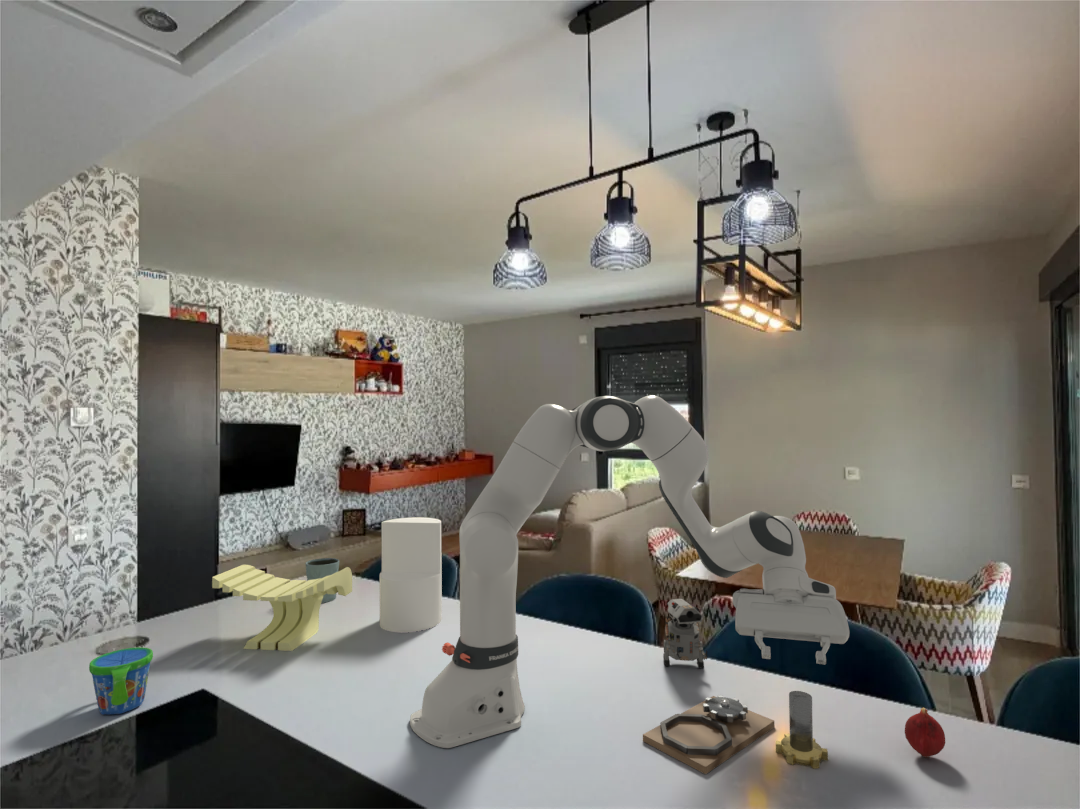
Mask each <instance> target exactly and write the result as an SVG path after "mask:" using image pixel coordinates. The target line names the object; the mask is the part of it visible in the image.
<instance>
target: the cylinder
mask: <svg viewBox="0 0 1080 809" xmlns="http://www.w3.org/2000/svg"><path fill="white" fill-rule="evenodd" d="M442 560H443V559H442V520H441V519H438V518H434V517H425V516H424V517H423V516H421V517H417V516H416V517H415V516H414V517H399V518H393V519H387V520H384V521H381V571H380V573H379V627H380V628H381V629H382V630H384V631H387V632H392V633H400V634H401V633H402V634H404V633H408V632H409V633H416V631H418V632H422V631H421V630H423V631H427V630H430V629H433V628H435V627H437V626H438V625H439V623H440V622H441V623H442V621H441V620H443V615H442V614H443V610H442V609H443V608H442V607H443V605H442V604H443V600H442V598H443V594H442V593H443V592H442V589H443V588H442V587H443V585H442V581H443V580H442V579H443V578H442V574H443V573H442V572H443V571H442V569H443V568H442V564H443V562H442ZM441 623H440V624H441ZM437 624H438V625H437ZM436 625H437V626H436ZM434 626H435V627H434ZM432 627H433V628H432ZM429 628H430V629H429ZM426 629H427V630H426Z"/></svg>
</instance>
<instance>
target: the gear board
mask: <svg viewBox="0 0 1080 809" xmlns="http://www.w3.org/2000/svg"><path fill="white" fill-rule="evenodd" d="M715 697H716V696H715V695H712V696H710V697H709V698H715ZM703 704H705V700H704V701H701V702H700V703H698V704H696V705H694V706H692V707H690V708H688V709H687V710H685V711H683V712H681V713H675V714H673V715H671V716H670V717H668V718H665V719H664V720H662V721H661V722H660V723H659V725H657V726H656V727H653V728H652V729H651V730H650V729H649V731H647V732H645V733H643V734H642V742H643V743H645V744H647V745H649V746H651V747H653V748H655V749H657V750H658V751H660V752H662V753H664V754H666V755H668V756H670V757H672V758H674V759H675V760H678V761H679V762H681V763H683V764H685V765H687V766H689V767H691V768H693V769H695V770H697V771H698V772H700V773H702V774H704V775H707V774H709V773H710V772H711V771H713V770H715V768H717V767H718V766H721V764H723V763H725V762H726V761H727V760H729V759H731V758H732V757H734V756H735V755H736V754H737V753H739V752H740V751H742V750H744V749H745V748H746V747H748V746H749V745H751V744H752V743H753V742H755V741H756V740H758V739H759V738H761V737H762V736H764V735H766V734H767V733H768V732H769V731H771V730H773V729H774V728H775V720H773V719H771V718H769V717H766V716H764V715H762V714H759V713H757V712H754V711H751V710H749V709H748V713H746V719H745V720H741V719H738V720H733V722H723V721H720V720H718V719H716V720H715V719H713V718H711V714H709V712H704V711H703Z"/></svg>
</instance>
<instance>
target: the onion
mask: <svg viewBox="0 0 1080 809" xmlns="http://www.w3.org/2000/svg"><path fill="white" fill-rule="evenodd" d="M904 734H905V735H904V736H905V739H906V741H907V742H908V744H909V746H910V747H911V748H912V749H913V750H914V751H915V752H917V753H918V754H919V755H921V756H922V757H924V758H930V757H933V756H936V755H938V754H939V753H941V752H942V750H943V749H944V748H945V746H946V745H945V744H946V735H945V731H944V729H943V727H942V725H941V724H940V723H939V722H938V721H937V719H935V718H934V717H933V716H932V715H930V714H929V713H928V709H927V708H925V707H922V708H920V711H919V712H918V713H916V714H913V715H911V716H910V717H909V718H907V720H906V722H905V725H904Z"/></svg>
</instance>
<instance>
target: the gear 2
mask: <svg viewBox="0 0 1080 809" xmlns="http://www.w3.org/2000/svg"><path fill="white" fill-rule="evenodd" d="M788 702H789V703H788V705H789V706H788V708H789V709H788V710H789V711H788V712H789V713H788V714H789V721H788V722H789V733H785V734H784V737H783V738H781V741H780V740H775V753H781V754H782V756H783V757H784V758H785V759H786V763H787V764H789V765H792V766H794V765H800V766H805V767H807V766H808V767H811V768H812V769H815V770H816V769H820V764H821V763H822V761H827V762H828V761H829V751H828V748H823V747H822V746H821V745H820V744H819V743H818V742H816V738H814V737H813V736H814V735H813V731H814V730H813V727H814V726H813V697H812V695H811V694H809V693H807V692H806V691H802V690H792V691H790V692H789V693H788Z"/></svg>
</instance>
